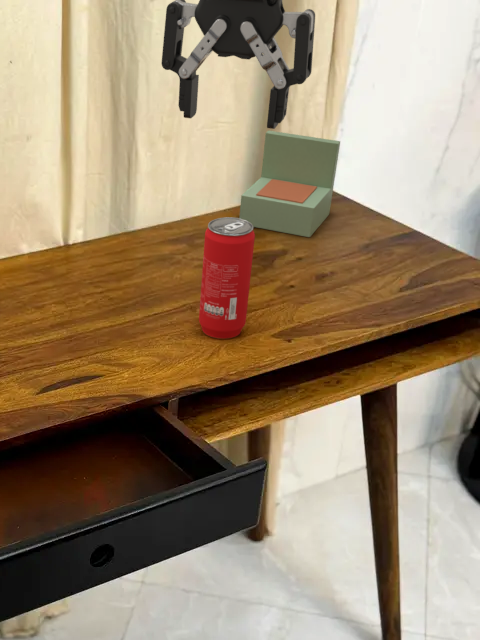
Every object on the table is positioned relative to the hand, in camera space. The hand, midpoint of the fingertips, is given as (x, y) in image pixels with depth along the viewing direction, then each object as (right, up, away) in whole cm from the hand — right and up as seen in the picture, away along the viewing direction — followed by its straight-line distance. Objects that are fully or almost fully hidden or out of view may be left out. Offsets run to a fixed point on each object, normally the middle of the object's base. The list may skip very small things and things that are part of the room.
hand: (231, 121), depth 98 cm
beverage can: (+1, -19, +12) cm, 22 cm away
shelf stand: (+12, +1, +37) cm, 39 cm away
